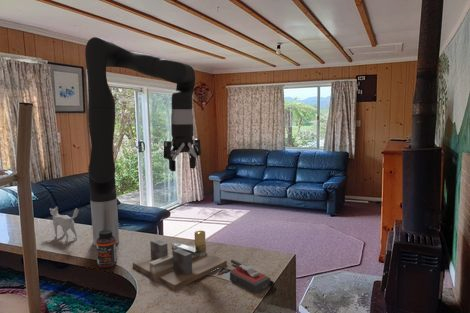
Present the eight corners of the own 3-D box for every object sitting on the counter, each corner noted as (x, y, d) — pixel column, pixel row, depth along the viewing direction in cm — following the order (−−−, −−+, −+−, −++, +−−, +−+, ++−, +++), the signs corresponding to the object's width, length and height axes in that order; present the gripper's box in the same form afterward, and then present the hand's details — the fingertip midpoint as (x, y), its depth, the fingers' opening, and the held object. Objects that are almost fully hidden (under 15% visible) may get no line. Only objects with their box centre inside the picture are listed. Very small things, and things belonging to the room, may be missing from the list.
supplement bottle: (96, 269, 110) (94, 235, 108) (98, 261, 115) (96, 229, 114) (116, 267, 111) (114, 233, 110) (117, 259, 117) (115, 227, 115)
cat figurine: (59, 232, 144) (56, 199, 143) (85, 242, 133) (83, 206, 131) (48, 235, 141) (45, 201, 139) (74, 245, 129) (71, 209, 127)
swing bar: (169, 248, 110) (168, 226, 109) (176, 245, 112) (175, 224, 111) (200, 258, 102) (200, 235, 101) (207, 254, 105) (207, 231, 104)
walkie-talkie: (279, 286, 99) (233, 263, 114) (280, 271, 98) (233, 250, 113) (258, 297, 93) (212, 272, 108) (258, 281, 93) (212, 258, 107)
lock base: (132, 266, 111) (131, 244, 110) (183, 247, 127) (182, 227, 126) (175, 290, 97) (174, 264, 95) (226, 264, 112) (226, 242, 111)
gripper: (171, 123, 110) (172, 173, 112) (205, 122, 120) (205, 168, 122) (158, 123, 115) (159, 170, 117) (191, 122, 125) (192, 166, 128)
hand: (183, 169), depth 120 cm, fingers open, 8 cm apart
